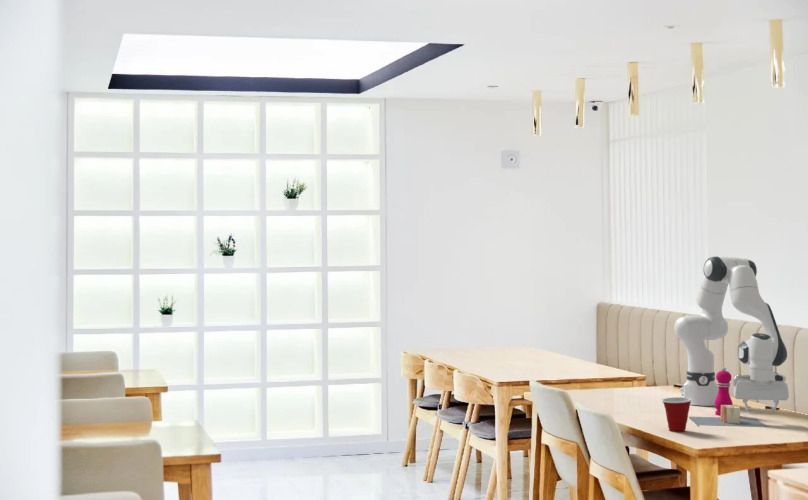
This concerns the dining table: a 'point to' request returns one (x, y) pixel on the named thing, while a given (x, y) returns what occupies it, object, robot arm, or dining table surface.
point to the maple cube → (730, 414)
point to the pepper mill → (722, 390)
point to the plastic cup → (677, 412)
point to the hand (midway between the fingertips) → (760, 411)
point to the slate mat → (717, 422)
